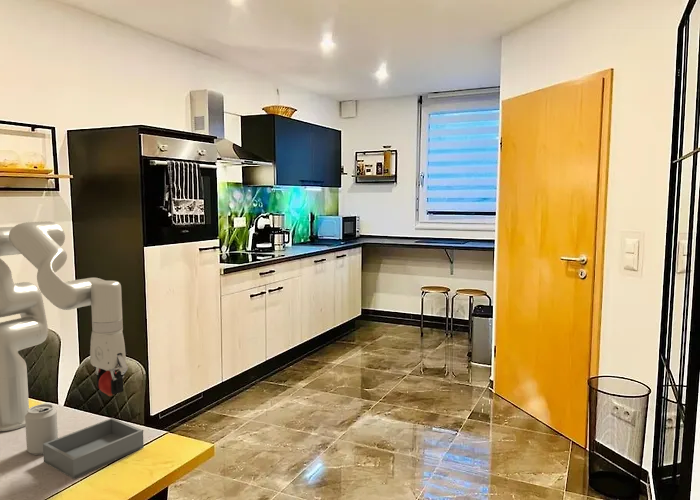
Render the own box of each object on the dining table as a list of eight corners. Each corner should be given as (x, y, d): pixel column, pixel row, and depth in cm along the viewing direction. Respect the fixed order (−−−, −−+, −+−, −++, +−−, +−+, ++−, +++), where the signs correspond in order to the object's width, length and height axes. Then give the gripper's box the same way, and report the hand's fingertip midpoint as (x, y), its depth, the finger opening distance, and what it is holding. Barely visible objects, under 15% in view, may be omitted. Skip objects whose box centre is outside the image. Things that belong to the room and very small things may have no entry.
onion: (99, 393, 145) (98, 365, 144) (122, 390, 147) (121, 363, 146) (98, 401, 140) (97, 372, 139) (121, 398, 142) (120, 369, 141)
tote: (43, 462, 137) (42, 443, 136) (113, 433, 153) (112, 417, 152) (73, 479, 129) (73, 459, 128) (143, 447, 145) (143, 430, 144)
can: (44, 457, 139) (41, 414, 138) (20, 454, 140) (17, 411, 139) (64, 444, 146) (62, 403, 145) (41, 441, 148) (39, 401, 146)
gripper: (76, 324, 143) (79, 387, 145) (113, 334, 133) (116, 401, 135) (102, 319, 149) (105, 380, 151) (139, 328, 140) (141, 392, 142)
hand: (110, 389), depth 143 cm, fingers closed on onion, 5 cm apart
